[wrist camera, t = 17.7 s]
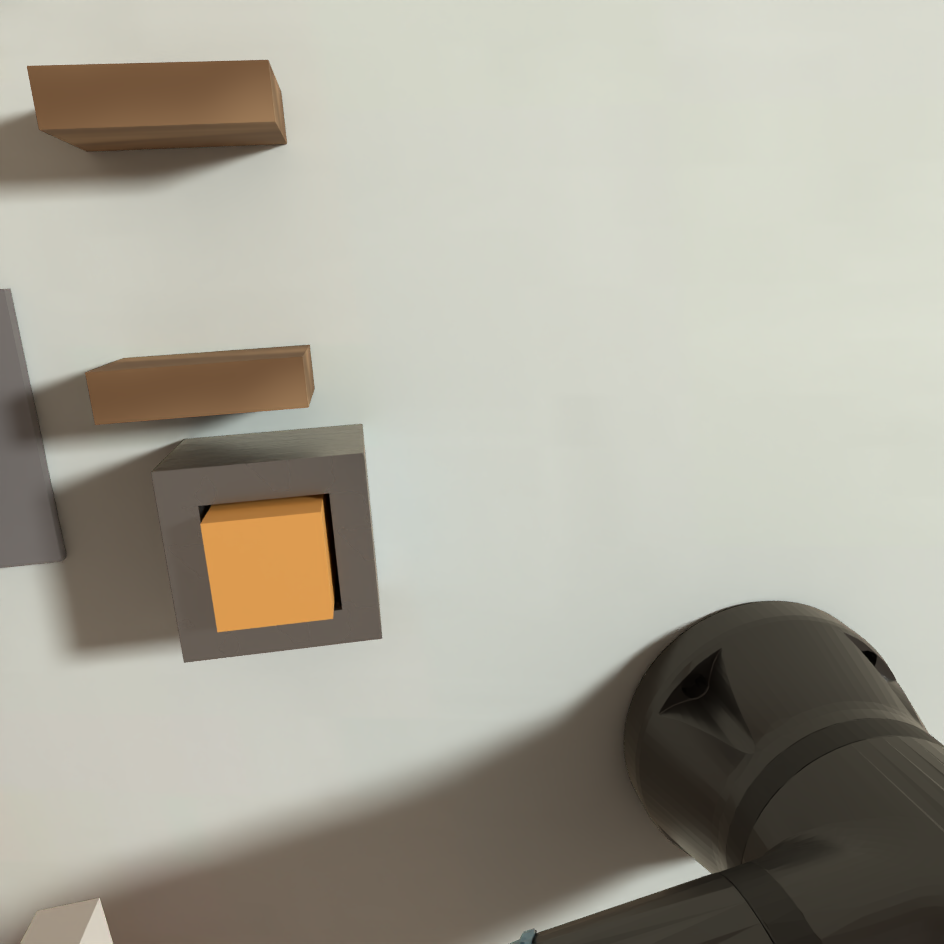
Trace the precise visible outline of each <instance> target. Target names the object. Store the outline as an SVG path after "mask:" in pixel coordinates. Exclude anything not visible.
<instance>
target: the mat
mask: <svg viewBox="0 0 944 944" xmlns="http://www.w3.org/2000/svg"><path fill="white" fill-rule="evenodd" d="M65 558H66V552H65V547H64V543H63V538H62V533H61V528H60V523H59V519H58V514H57V509H56V504H55V500H54V495H53V490H52V485H51V481H50V476H49V471H48V466H47V461H46V457H45V452H44V447H43V442H42V438H41V433H40V428H39V423H38V419H37V414H36V409H35V404H34V399H33V395H32V390H31V385H30V380H29V376H28V371H27V366H26V361H25V356H24V352H23V347H22V342H21V337H20V333H19V328H18V323H17V318H16V314H15V309H14V304H13V299H12V294H11V290H10V289H0V568H2V567H12V566H22V565H31V564H41V563H51V562H60V561H63V560H64V559H65Z"/></svg>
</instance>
